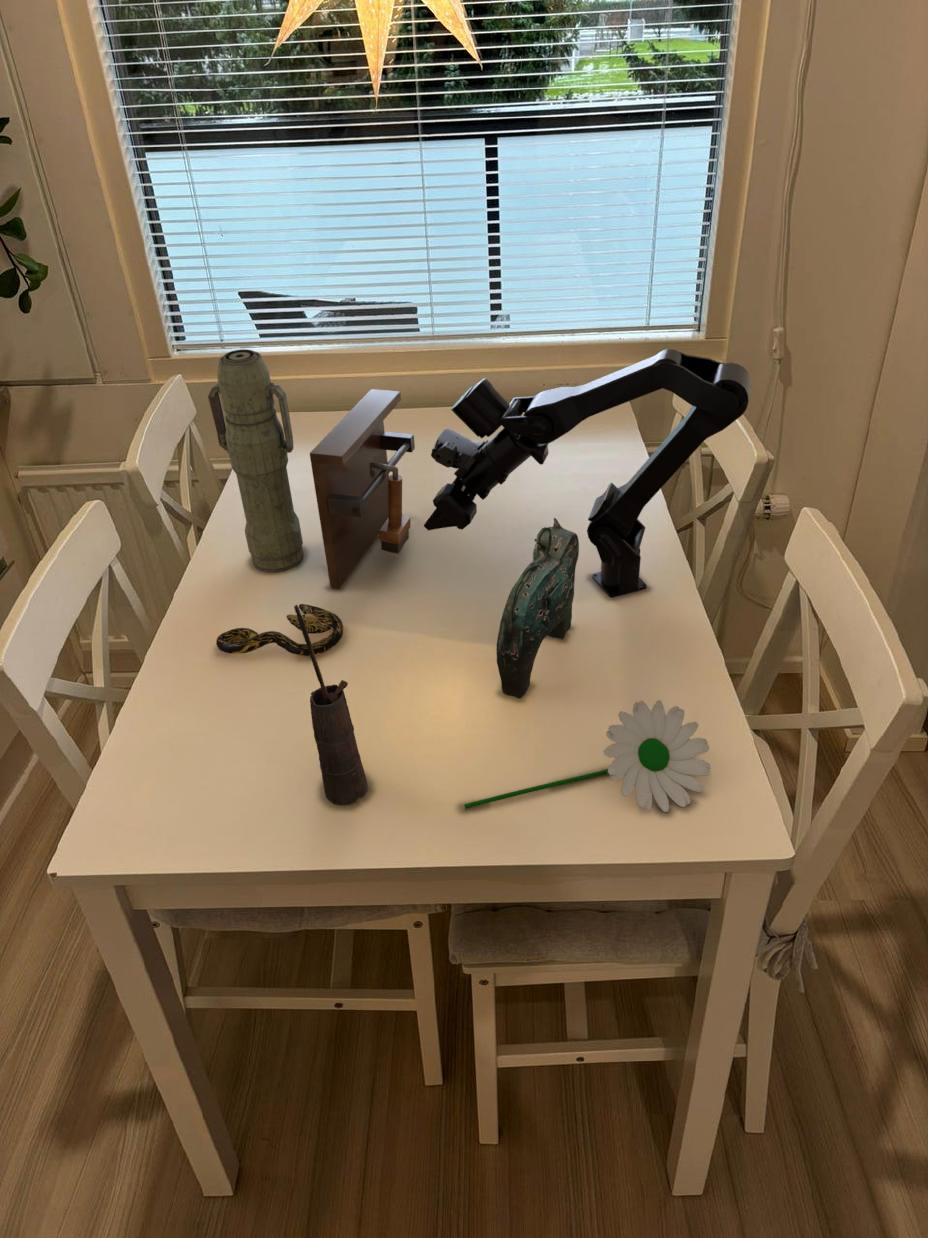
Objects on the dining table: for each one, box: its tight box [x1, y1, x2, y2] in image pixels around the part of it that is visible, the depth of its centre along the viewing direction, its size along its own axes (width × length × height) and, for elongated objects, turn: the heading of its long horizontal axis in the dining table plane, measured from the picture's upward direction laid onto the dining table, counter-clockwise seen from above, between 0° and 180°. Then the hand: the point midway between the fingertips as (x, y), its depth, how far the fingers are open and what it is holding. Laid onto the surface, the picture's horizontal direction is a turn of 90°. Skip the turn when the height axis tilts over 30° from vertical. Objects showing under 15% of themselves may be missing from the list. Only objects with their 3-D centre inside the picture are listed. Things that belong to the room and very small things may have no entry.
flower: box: [463, 699, 712, 813], centre depth 110 cm, size 13×6×30 cm
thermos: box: [207, 348, 305, 574], centre depth 145 cm, size 9×12×35 cm
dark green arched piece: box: [496, 517, 580, 700], centre depth 125 cm, size 20×6×20 cm, turn 152°
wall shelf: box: [309, 388, 416, 590], centre depth 149 cm, size 7×24×24 cm, turn 163°
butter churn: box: [293, 604, 369, 806], centre depth 105 cm, size 9×10×28 cm
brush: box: [370, 462, 412, 555], centre depth 149 cm, size 6×6×14 cm
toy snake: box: [215, 603, 344, 657], centre depth 135 cm, size 18×5×10 cm
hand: (435, 513), depth 148 cm, fingers open, 9 cm apart
